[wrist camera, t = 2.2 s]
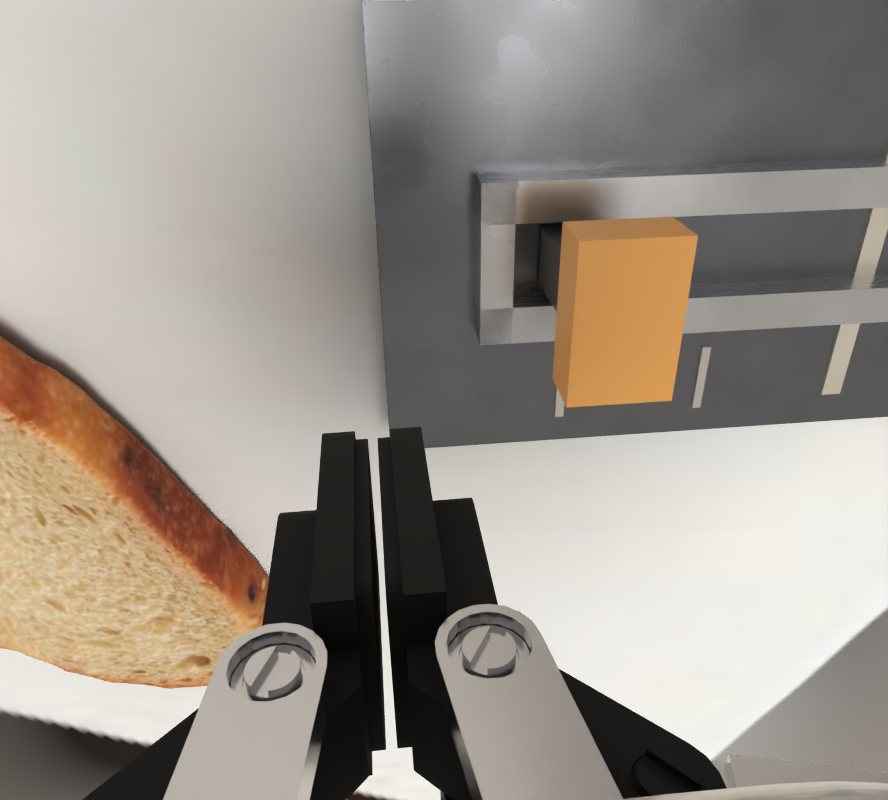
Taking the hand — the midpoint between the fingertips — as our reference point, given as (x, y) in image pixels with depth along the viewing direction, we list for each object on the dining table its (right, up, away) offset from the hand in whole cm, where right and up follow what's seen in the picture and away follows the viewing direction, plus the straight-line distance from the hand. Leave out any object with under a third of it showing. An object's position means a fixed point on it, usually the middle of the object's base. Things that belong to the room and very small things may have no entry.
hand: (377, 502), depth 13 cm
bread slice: (-14, -2, +16) cm, 21 cm away
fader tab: (+5, +6, +10) cm, 13 cm away
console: (+12, +8, +13) cm, 19 cm away
